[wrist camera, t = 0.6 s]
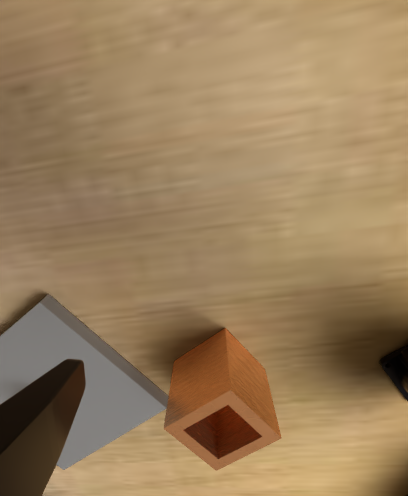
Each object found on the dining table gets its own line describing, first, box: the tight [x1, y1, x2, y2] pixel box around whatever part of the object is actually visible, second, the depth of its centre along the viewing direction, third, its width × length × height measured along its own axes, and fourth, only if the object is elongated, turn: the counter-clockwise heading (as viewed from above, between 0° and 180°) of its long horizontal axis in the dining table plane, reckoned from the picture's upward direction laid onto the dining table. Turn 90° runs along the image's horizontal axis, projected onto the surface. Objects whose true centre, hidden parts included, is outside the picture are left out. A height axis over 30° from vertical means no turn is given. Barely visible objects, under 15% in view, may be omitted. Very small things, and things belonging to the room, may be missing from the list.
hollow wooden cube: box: [164, 328, 281, 470], centre depth 21 cm, size 6×6×6 cm
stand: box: [0, 294, 169, 470], centre depth 23 cm, size 14×14×5 cm
